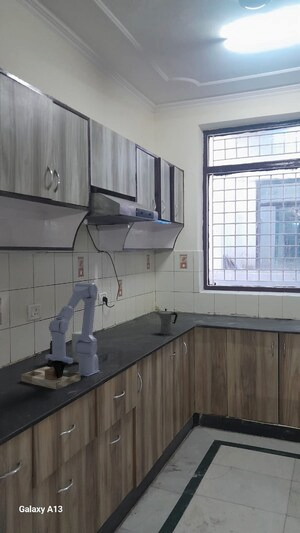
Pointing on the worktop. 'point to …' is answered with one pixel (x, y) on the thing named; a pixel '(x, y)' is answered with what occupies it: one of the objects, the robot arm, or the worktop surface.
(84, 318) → the robot arm
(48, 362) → the phone stand
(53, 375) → the walnut block
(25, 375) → the trap board
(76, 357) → the skincare box
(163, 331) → the coffeepot
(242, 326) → the worktop surface
